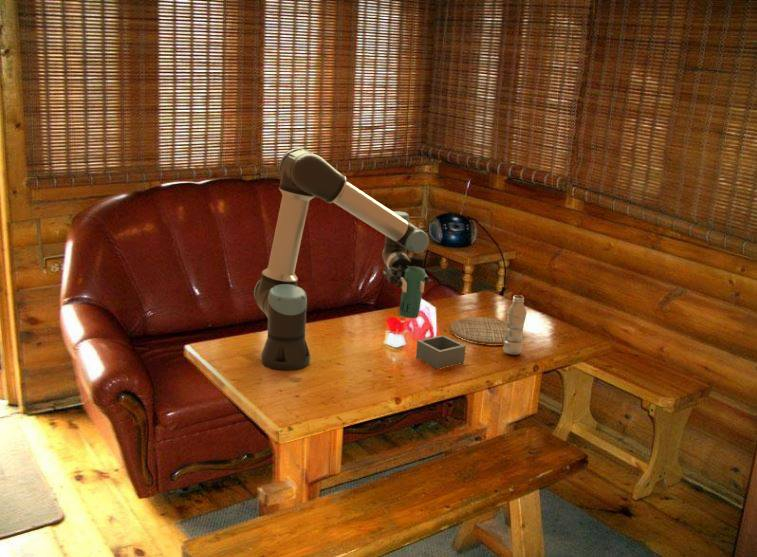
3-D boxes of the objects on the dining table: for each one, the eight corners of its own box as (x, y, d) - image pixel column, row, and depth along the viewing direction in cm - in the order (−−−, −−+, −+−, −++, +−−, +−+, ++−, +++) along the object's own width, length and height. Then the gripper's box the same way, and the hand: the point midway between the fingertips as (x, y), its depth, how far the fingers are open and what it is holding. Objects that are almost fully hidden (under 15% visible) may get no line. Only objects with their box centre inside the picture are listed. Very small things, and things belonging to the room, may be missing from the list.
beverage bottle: (419, 318, 255) (429, 257, 250) (416, 324, 249) (427, 261, 243) (398, 314, 256) (409, 253, 250) (395, 320, 250) (405, 257, 244)
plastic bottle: (499, 354, 273) (505, 297, 267) (506, 348, 279) (512, 292, 273) (517, 358, 270) (524, 301, 264) (524, 352, 276) (531, 296, 270)
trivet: (448, 319, 304) (449, 315, 304) (516, 324, 304) (516, 319, 303) (452, 343, 280) (452, 338, 280) (525, 349, 280) (525, 344, 279)
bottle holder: (416, 357, 265) (417, 340, 263) (441, 351, 272) (443, 334, 270) (438, 369, 257) (439, 351, 255) (463, 363, 263) (465, 345, 262)
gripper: (425, 277, 268) (441, 300, 246) (372, 276, 265) (384, 299, 243) (427, 255, 266) (444, 276, 244) (374, 254, 263) (385, 275, 241)
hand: (414, 287), depth 244 cm, fingers closed on beverage bottle, 5 cm apart
